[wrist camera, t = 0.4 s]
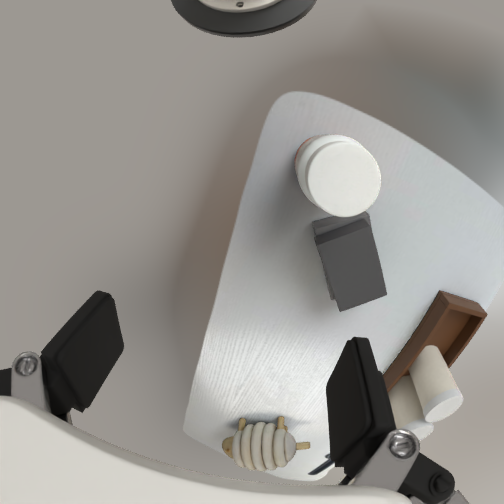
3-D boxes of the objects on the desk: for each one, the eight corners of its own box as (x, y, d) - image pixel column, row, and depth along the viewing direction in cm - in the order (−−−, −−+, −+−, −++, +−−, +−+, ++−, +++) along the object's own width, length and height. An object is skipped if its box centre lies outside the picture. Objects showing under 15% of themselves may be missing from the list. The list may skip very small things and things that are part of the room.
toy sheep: (217, 412, 47) (206, 459, 37) (304, 404, 43) (304, 457, 33) (236, 436, 50) (228, 477, 40) (313, 429, 47) (313, 475, 37)
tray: (439, 290, 31) (449, 303, 28) (478, 302, 31) (487, 314, 28) (353, 408, 43) (355, 422, 40) (393, 411, 43) (396, 423, 40)
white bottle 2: (414, 345, 34) (438, 400, 24) (444, 343, 34) (470, 392, 24) (401, 372, 37) (418, 425, 27) (430, 369, 36) (450, 418, 26)
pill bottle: (362, 168, 27) (405, 189, 16) (319, 203, 29) (338, 242, 19) (325, 123, 25) (351, 115, 15) (281, 160, 27) (280, 174, 17)
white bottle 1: (391, 376, 37) (407, 429, 27) (421, 373, 37) (440, 422, 27) (379, 397, 40) (390, 448, 30) (408, 394, 39) (422, 441, 29)
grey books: (310, 222, 30) (314, 237, 25) (365, 207, 28) (378, 221, 24) (327, 291, 33) (332, 314, 29) (376, 278, 32) (387, 299, 27)
